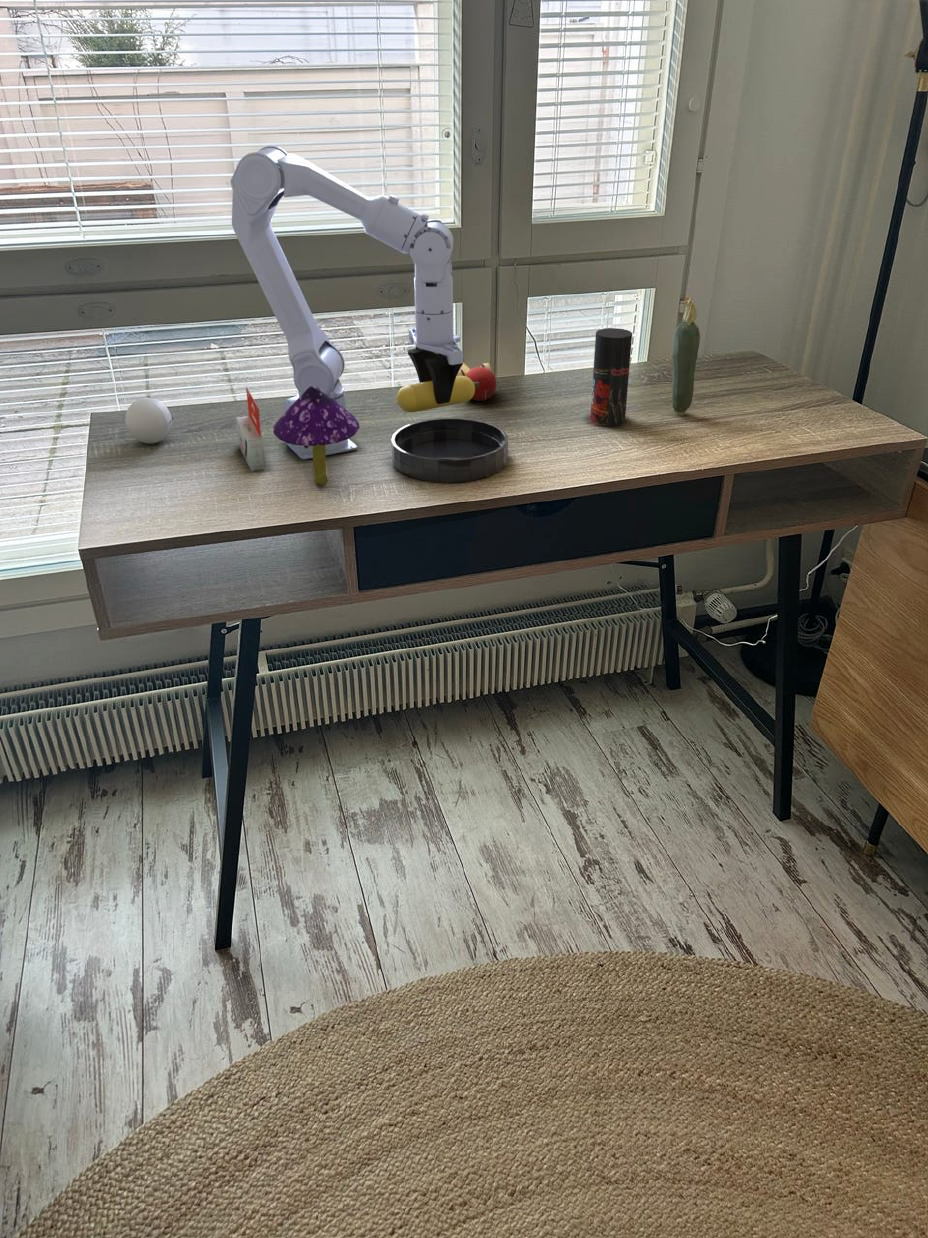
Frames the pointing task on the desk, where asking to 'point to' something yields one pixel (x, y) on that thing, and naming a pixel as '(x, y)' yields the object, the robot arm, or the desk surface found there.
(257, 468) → the ink box
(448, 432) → the pan
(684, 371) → the vegetable
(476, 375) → the kendama
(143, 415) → the white egg
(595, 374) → the deodorant
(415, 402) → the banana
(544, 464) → the desk surface
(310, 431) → the decorative mushroom
